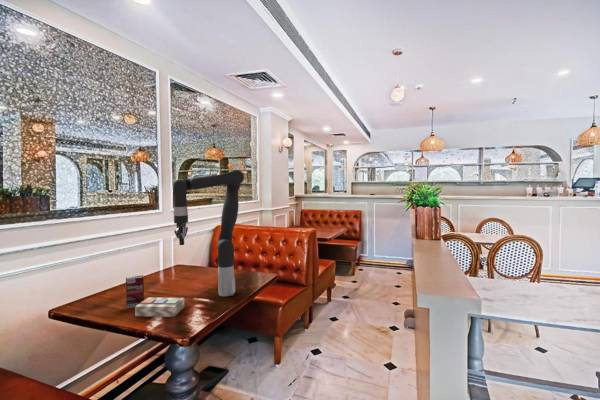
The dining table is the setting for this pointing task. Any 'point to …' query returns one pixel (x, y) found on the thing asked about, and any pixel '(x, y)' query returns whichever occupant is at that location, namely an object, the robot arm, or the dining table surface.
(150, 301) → the tile terracotta
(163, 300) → the pale blue cube
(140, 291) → the supplement box
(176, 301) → the tile sage
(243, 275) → the dining table surface
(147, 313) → the tile board
